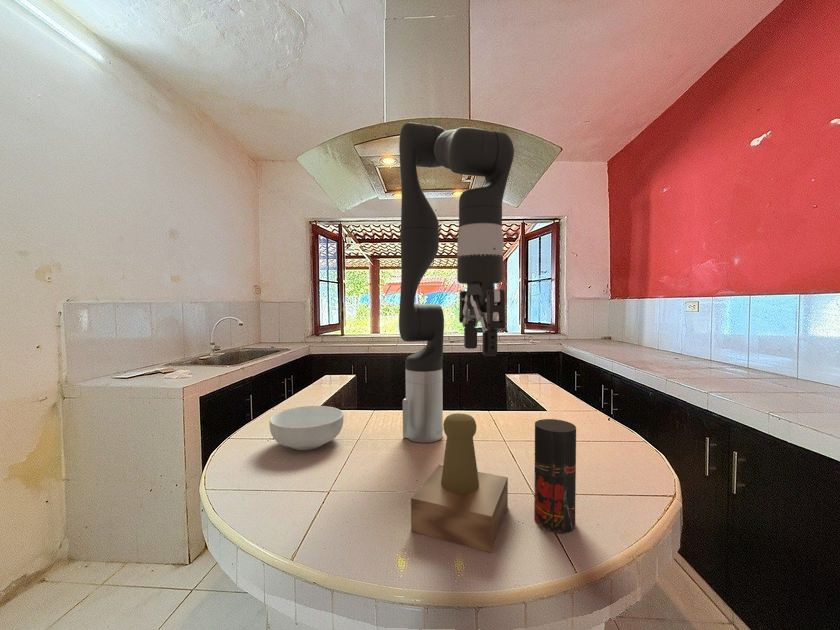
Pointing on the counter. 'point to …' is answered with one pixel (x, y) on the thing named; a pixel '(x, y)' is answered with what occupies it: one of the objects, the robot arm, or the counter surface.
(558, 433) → the deodorant
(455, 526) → the walnut block
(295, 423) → the cereal bowl
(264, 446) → the counter surface
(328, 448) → the counter surface
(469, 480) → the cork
